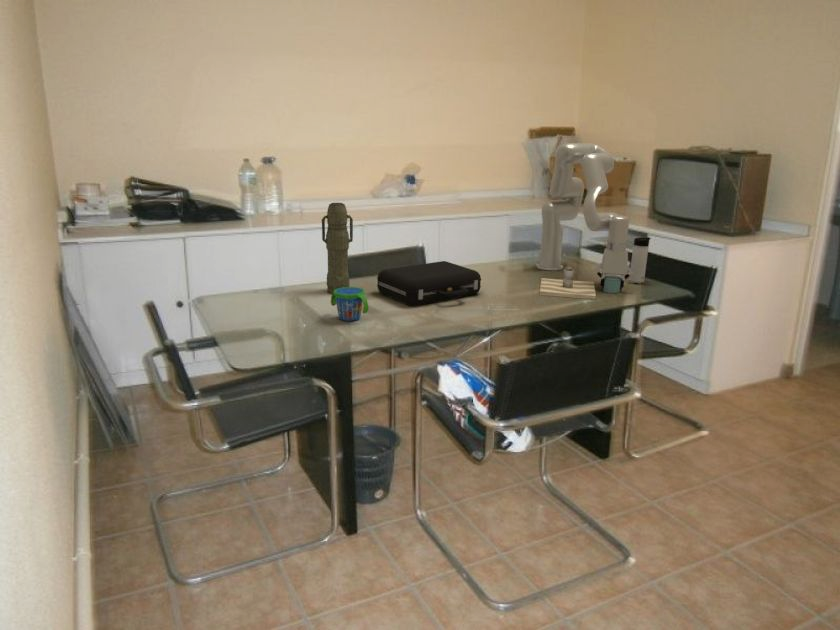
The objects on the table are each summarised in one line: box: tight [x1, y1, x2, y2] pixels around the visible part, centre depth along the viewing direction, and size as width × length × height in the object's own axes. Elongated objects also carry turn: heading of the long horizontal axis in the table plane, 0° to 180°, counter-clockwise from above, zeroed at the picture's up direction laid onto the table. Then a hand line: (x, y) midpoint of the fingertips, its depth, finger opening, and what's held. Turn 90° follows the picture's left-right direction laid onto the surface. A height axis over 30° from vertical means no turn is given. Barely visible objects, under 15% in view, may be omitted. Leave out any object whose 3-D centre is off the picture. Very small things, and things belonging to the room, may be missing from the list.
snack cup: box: [330, 286, 369, 322], centre depth 228 cm, size 16×10×10 cm
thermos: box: [321, 202, 354, 295], centre depth 257 cm, size 9×12×35 cm
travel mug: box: [628, 236, 651, 284], centre depth 284 cm, size 6×7×20 cm
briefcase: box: [376, 260, 482, 307], centre depth 258 cm, size 36×32×10 cm
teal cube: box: [602, 274, 621, 294], centre depth 272 cm, size 6×6×6 cm
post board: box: [539, 266, 597, 300], centre depth 271 cm, size 22×22×10 cm
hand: (611, 288), depth 272 cm, fingers closed on teal cube, 6 cm apart
